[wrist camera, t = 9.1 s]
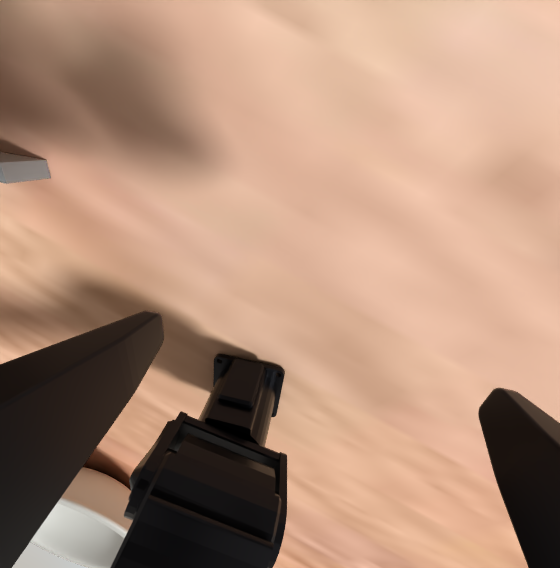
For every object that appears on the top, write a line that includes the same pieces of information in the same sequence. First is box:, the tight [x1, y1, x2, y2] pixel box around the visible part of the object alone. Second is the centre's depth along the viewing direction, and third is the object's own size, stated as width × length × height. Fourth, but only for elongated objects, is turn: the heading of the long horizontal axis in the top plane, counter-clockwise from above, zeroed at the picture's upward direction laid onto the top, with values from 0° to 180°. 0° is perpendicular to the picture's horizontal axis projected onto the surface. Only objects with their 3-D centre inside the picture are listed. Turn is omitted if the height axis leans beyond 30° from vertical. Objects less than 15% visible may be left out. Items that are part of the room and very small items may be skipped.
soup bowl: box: [30, 467, 133, 568], centre depth 39 cm, size 24×24×7 cm
